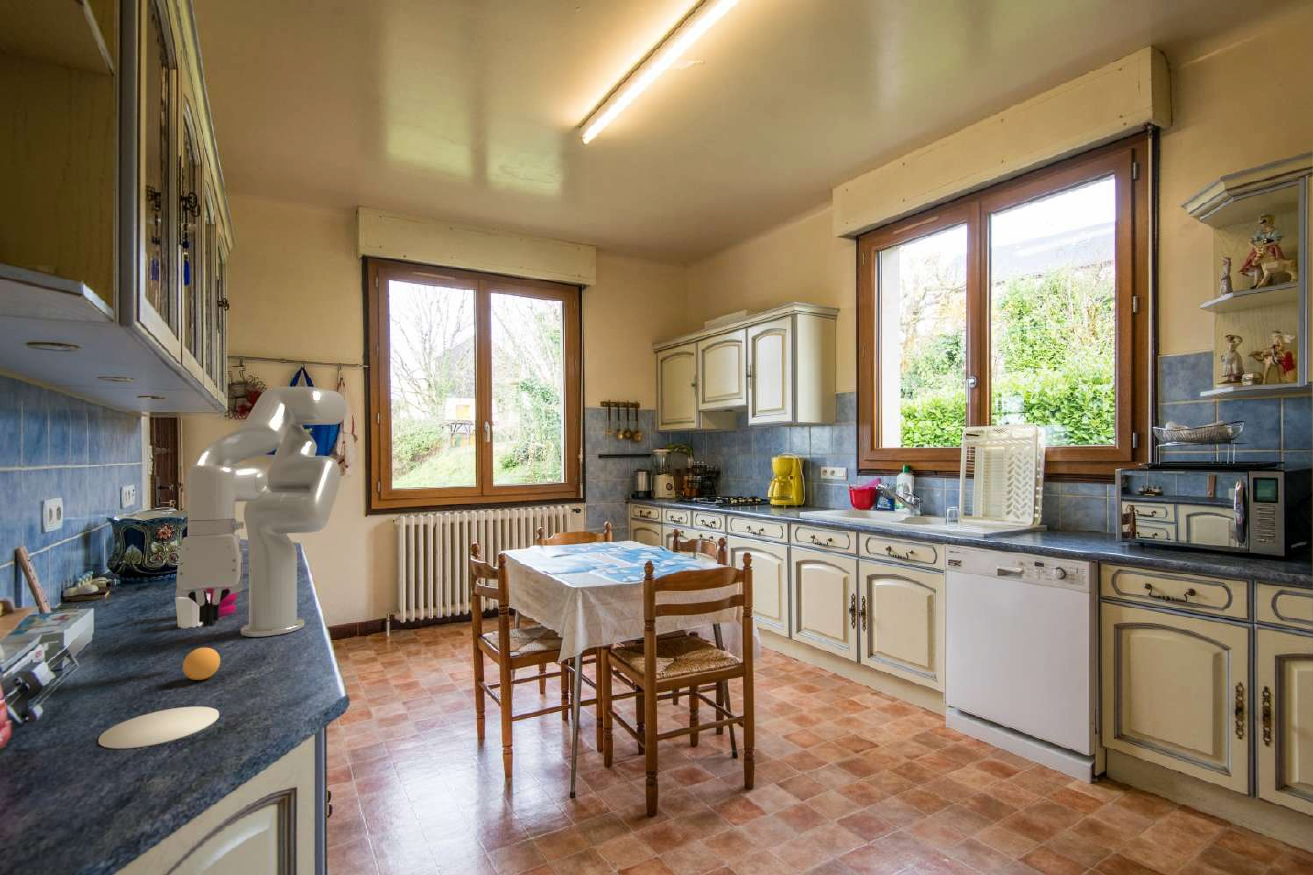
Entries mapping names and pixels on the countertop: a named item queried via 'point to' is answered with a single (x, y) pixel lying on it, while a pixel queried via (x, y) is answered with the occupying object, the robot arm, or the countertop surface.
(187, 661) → the ball
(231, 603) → the pepper mill
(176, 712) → the disc
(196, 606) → the white fluted cup
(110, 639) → the countertop surface
